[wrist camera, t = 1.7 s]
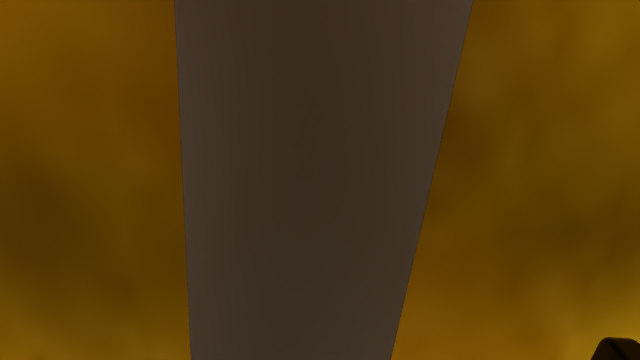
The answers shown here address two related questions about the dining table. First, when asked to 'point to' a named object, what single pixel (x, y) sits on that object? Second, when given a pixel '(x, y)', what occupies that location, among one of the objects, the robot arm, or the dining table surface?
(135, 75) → the dining table surface
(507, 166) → the dining table surface
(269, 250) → the walnut batten
